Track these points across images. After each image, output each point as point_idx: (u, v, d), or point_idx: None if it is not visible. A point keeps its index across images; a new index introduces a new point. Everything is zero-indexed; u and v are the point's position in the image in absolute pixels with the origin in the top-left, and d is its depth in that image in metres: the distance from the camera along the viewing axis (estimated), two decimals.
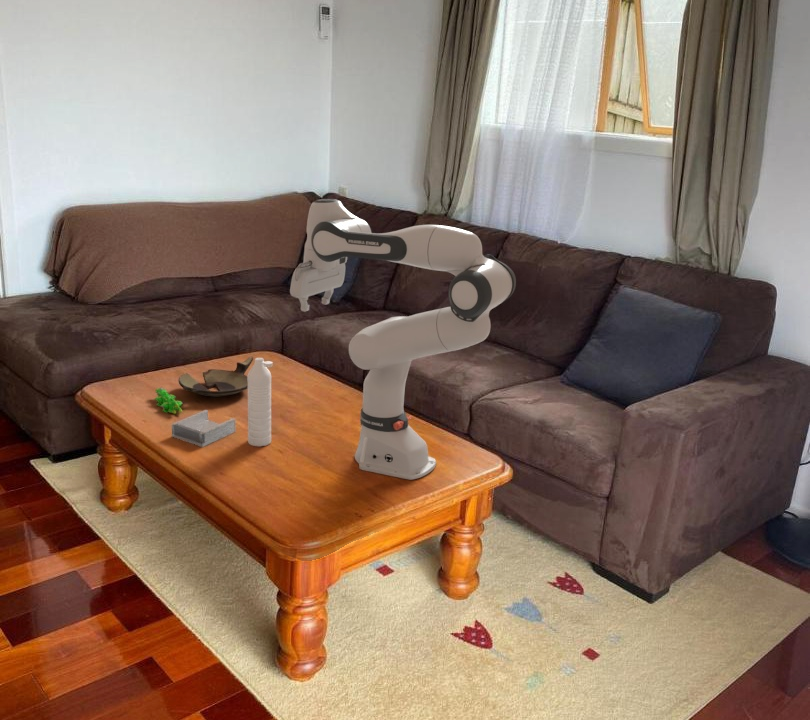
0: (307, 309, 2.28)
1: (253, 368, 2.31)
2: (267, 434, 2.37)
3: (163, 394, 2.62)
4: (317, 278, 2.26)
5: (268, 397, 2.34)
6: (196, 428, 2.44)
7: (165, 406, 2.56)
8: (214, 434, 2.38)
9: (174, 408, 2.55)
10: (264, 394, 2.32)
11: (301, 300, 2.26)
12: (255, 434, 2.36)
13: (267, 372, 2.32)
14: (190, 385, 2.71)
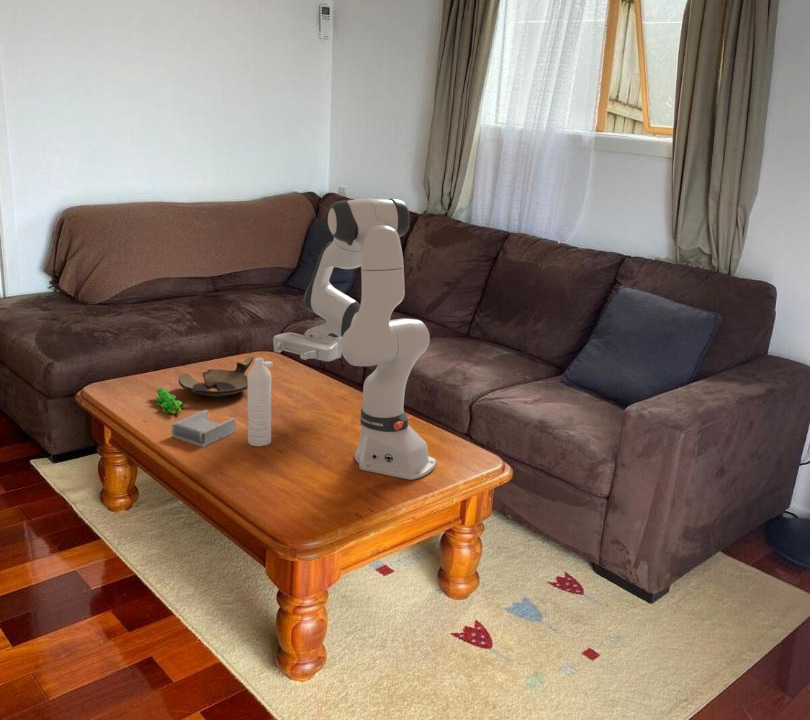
0: (277, 346, 2.44)
1: (253, 368, 2.31)
2: (267, 434, 2.37)
3: (163, 394, 2.62)
4: (301, 338, 2.50)
5: (268, 397, 2.34)
6: (196, 428, 2.44)
7: (165, 406, 2.56)
8: (214, 434, 2.38)
9: (174, 408, 2.55)
10: (264, 394, 2.32)
11: None
12: (255, 434, 2.36)
13: (267, 372, 2.32)
14: (190, 385, 2.71)
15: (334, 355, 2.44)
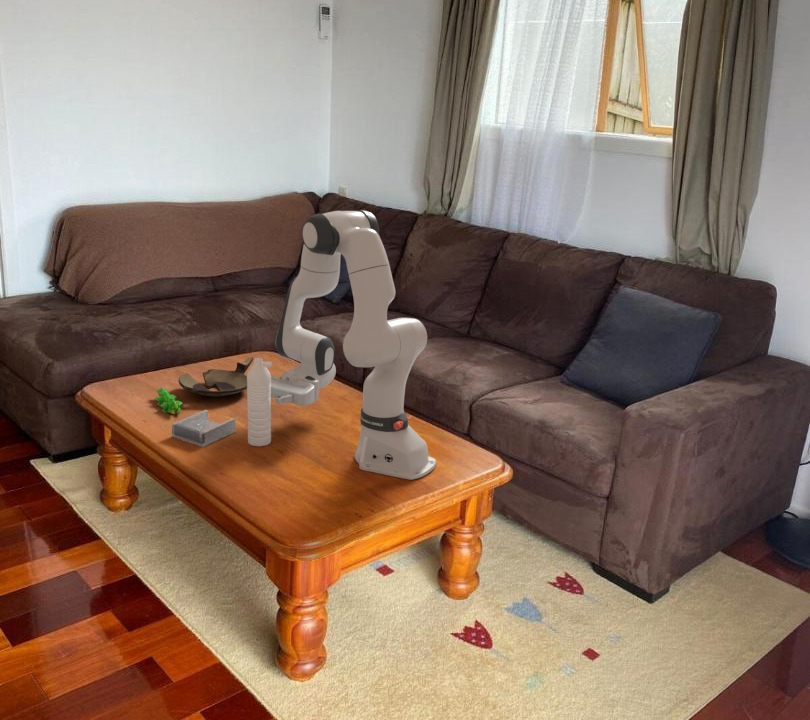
0: None
1: (252, 368, 2.31)
2: (267, 434, 2.37)
3: (164, 394, 2.62)
4: (277, 381, 2.44)
5: (268, 397, 2.34)
6: (196, 428, 2.44)
7: (164, 406, 2.56)
8: (214, 434, 2.38)
9: (173, 408, 2.55)
10: (264, 394, 2.32)
11: None
12: (255, 434, 2.35)
13: (267, 372, 2.32)
14: (190, 385, 2.71)
15: (310, 399, 2.38)
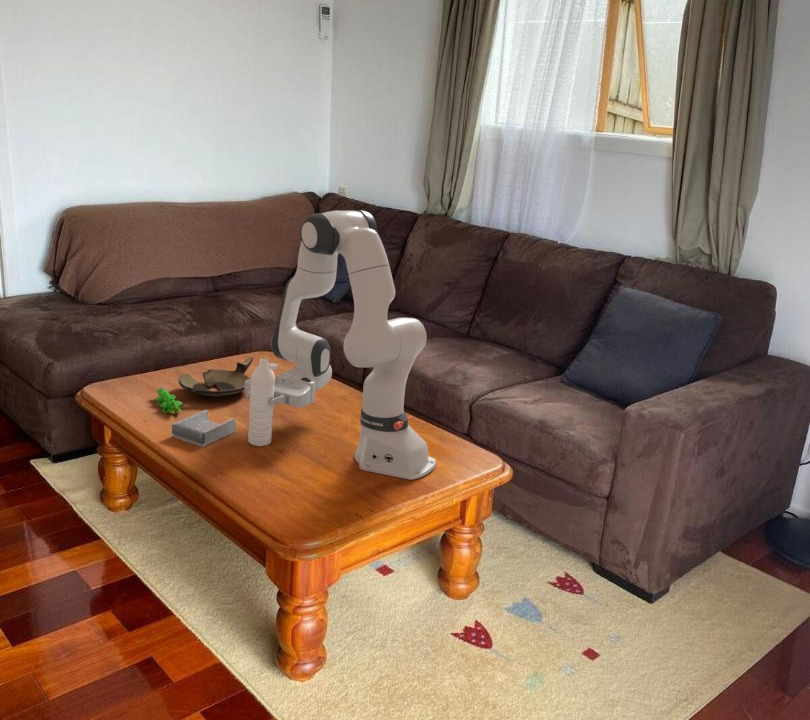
0: None
1: (257, 369, 2.30)
2: (267, 435, 2.37)
3: (164, 394, 2.62)
4: None
5: None
6: (196, 428, 2.44)
7: (164, 406, 2.56)
8: (214, 434, 2.38)
9: (173, 408, 2.55)
10: (267, 395, 2.32)
11: None
12: (256, 434, 2.35)
13: (271, 374, 2.31)
14: (190, 385, 2.71)
15: (306, 400, 2.36)
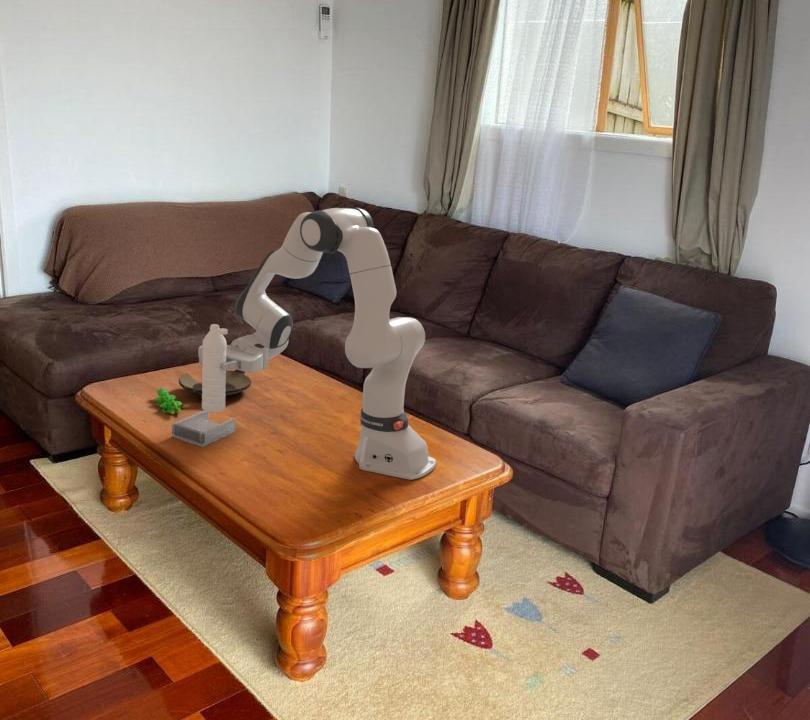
0: (202, 357, 2.37)
1: (208, 335, 2.32)
2: (220, 401, 2.38)
3: (163, 394, 2.62)
4: (226, 349, 2.43)
5: None
6: (196, 428, 2.44)
7: (164, 406, 2.56)
8: (214, 434, 2.38)
9: (173, 408, 2.55)
10: (218, 361, 2.33)
11: None
12: (209, 400, 2.37)
13: (222, 339, 2.32)
14: (190, 385, 2.71)
15: (258, 366, 2.38)
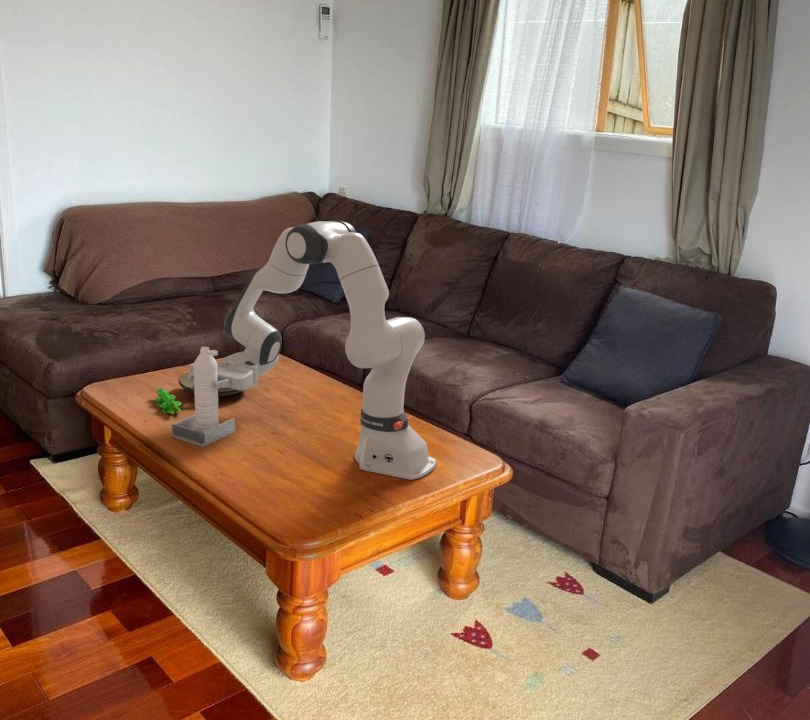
0: (190, 375, 2.40)
1: (199, 357, 2.35)
2: (214, 423, 2.40)
3: (163, 394, 2.61)
4: (217, 367, 2.46)
5: None
6: None
7: (164, 406, 2.56)
8: (214, 434, 2.38)
9: (173, 408, 2.55)
10: (210, 383, 2.36)
11: None
12: (202, 423, 2.39)
13: (213, 361, 2.35)
14: (190, 385, 2.71)
15: (248, 383, 2.40)
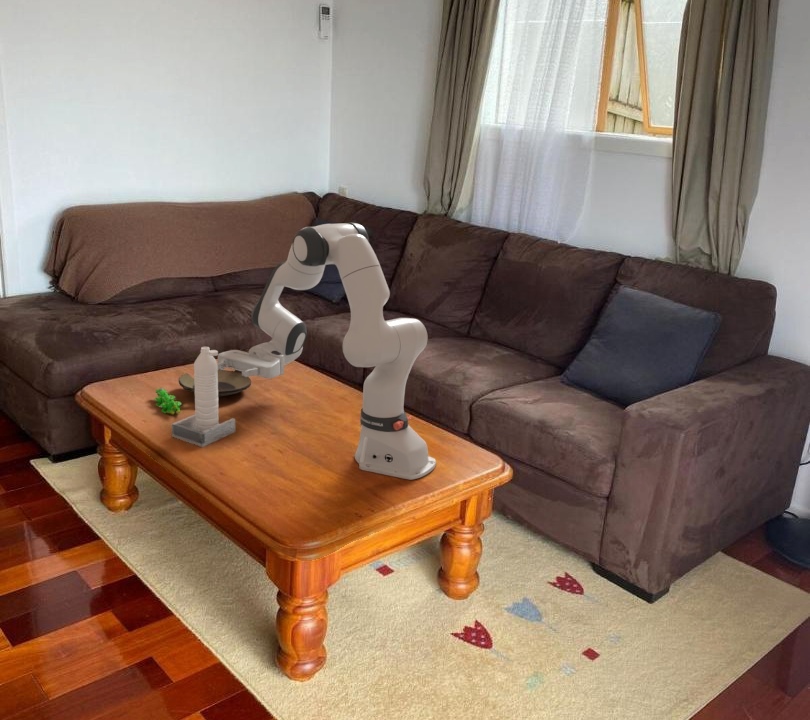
0: (220, 363, 2.50)
1: (199, 357, 2.35)
2: (214, 423, 2.40)
3: (163, 394, 2.61)
4: (245, 356, 2.56)
5: (214, 386, 2.37)
6: None
7: (164, 406, 2.55)
8: (214, 434, 2.38)
9: (172, 409, 2.55)
10: (210, 383, 2.36)
11: None
12: (202, 423, 2.39)
13: (213, 361, 2.35)
14: (190, 385, 2.71)
15: (275, 372, 2.50)
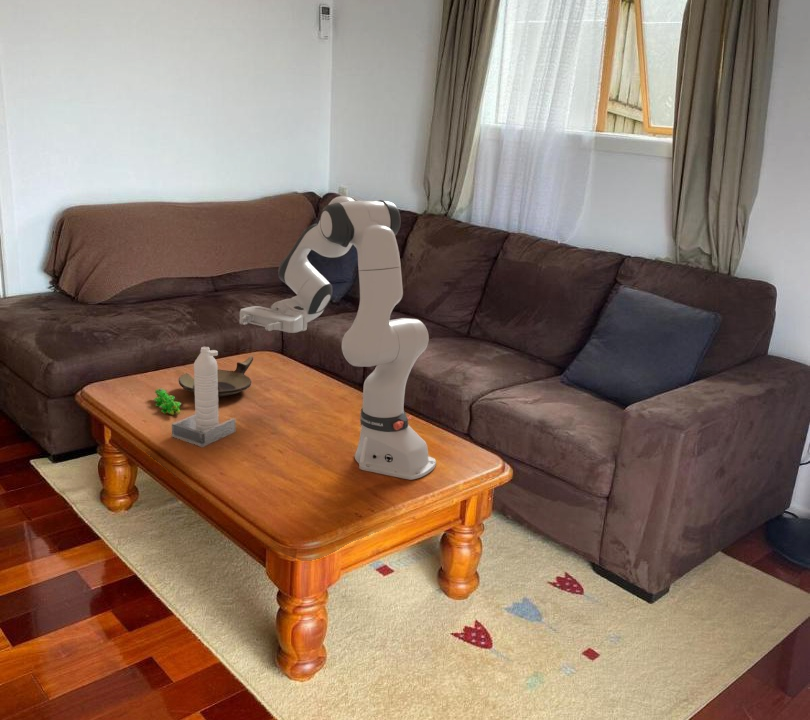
0: (242, 318, 2.47)
1: (199, 357, 2.35)
2: (214, 423, 2.40)
3: (162, 395, 2.61)
4: (267, 311, 2.52)
5: (214, 386, 2.37)
6: None
7: (163, 407, 2.55)
8: (214, 434, 2.38)
9: (172, 409, 2.55)
10: (210, 383, 2.36)
11: None
12: (202, 423, 2.39)
13: (213, 361, 2.35)
14: (190, 385, 2.71)
15: (299, 326, 2.47)
